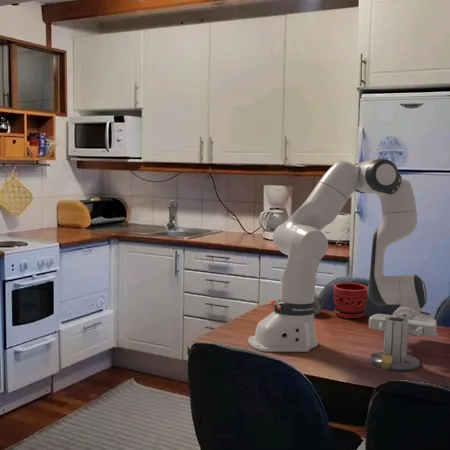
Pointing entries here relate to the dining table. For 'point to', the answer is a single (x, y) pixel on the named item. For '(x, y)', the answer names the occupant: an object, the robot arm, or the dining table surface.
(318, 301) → the spool
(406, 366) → the grey pot lid
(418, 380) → the dining table surface
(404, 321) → the octagonal pipe segment
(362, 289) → the plant pot
